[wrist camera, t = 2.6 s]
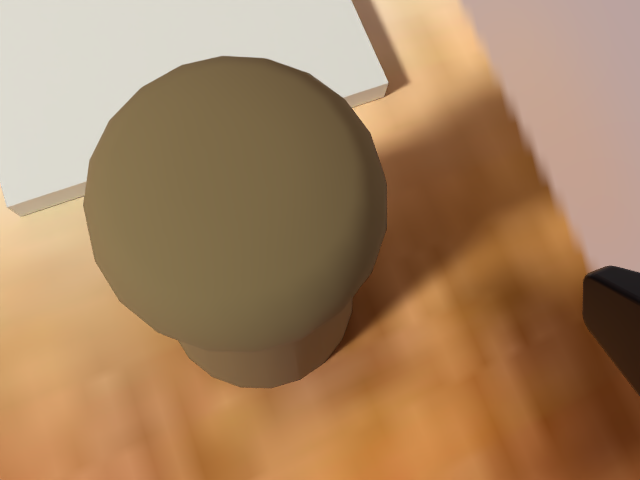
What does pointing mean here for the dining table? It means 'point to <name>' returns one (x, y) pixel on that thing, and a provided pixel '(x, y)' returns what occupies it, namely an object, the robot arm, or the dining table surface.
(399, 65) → the dining table surface
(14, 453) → the dining table surface
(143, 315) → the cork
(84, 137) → the white board
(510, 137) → the dining table surface
